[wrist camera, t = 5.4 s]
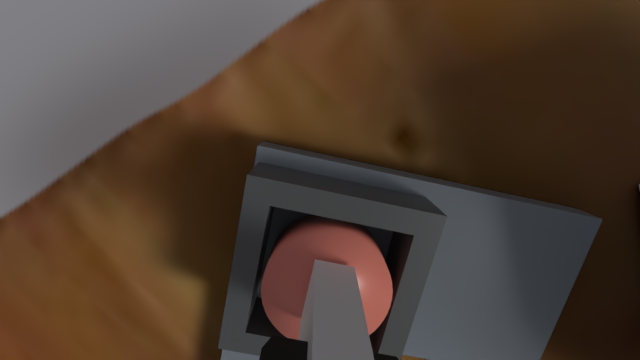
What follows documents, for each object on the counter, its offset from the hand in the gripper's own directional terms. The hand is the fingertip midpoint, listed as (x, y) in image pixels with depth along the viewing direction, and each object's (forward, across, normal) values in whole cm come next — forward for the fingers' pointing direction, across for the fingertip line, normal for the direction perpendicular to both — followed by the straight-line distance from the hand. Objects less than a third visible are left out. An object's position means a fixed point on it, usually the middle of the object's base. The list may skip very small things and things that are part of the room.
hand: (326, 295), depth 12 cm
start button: (+2, 0, 0) cm, 2 cm away
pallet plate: (+5, -4, +6) cm, 8 cm away
